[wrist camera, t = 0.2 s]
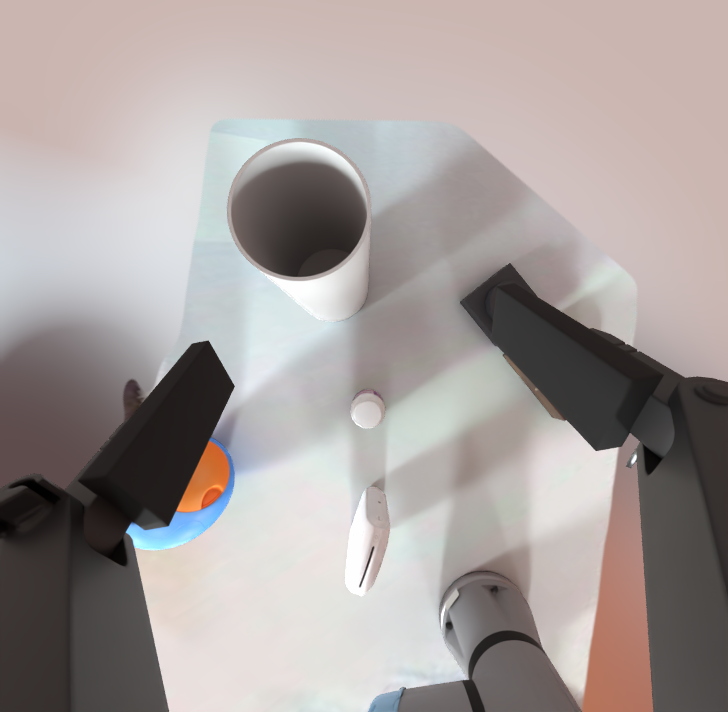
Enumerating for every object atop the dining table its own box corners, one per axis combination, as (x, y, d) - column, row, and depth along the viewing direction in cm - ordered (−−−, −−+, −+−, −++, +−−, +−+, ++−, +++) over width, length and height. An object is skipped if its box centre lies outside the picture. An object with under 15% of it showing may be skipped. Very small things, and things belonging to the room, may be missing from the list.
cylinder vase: (285, 274, 49) (201, 182, 24) (346, 240, 49) (327, 112, 24) (319, 335, 48) (270, 307, 23) (380, 301, 48) (397, 236, 23)
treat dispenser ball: (146, 455, 48) (44, 498, 33) (218, 404, 48) (149, 424, 33) (196, 527, 48) (115, 605, 33) (267, 476, 48) (221, 531, 33)
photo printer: (365, 481, 48) (364, 523, 36) (388, 489, 48) (395, 534, 35) (345, 537, 48) (339, 599, 35) (369, 546, 48) (370, 610, 35)
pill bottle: (370, 382, 48) (372, 387, 39) (388, 406, 48) (394, 418, 38) (346, 400, 48) (341, 410, 39) (364, 425, 48) (364, 441, 38)
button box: (539, 311, 48) (554, 306, 44) (495, 346, 48) (506, 344, 44) (503, 267, 48) (516, 258, 44) (459, 302, 48) (468, 296, 44)
